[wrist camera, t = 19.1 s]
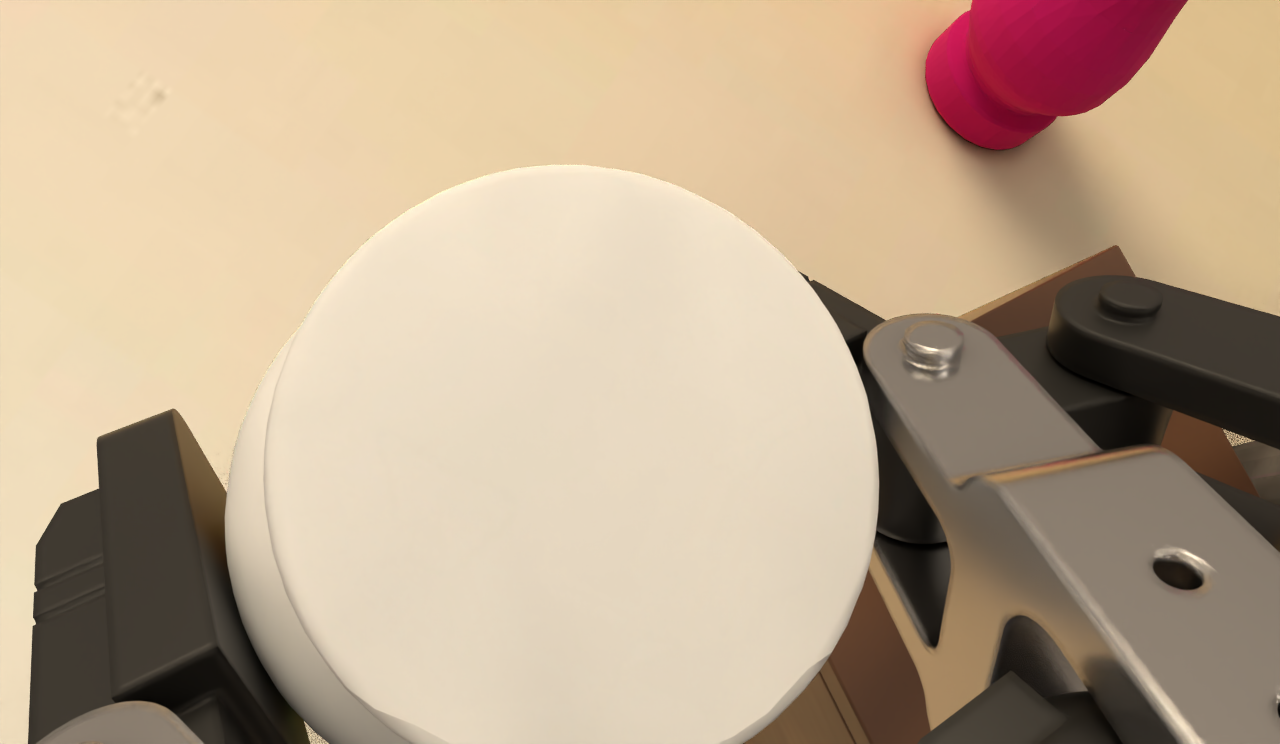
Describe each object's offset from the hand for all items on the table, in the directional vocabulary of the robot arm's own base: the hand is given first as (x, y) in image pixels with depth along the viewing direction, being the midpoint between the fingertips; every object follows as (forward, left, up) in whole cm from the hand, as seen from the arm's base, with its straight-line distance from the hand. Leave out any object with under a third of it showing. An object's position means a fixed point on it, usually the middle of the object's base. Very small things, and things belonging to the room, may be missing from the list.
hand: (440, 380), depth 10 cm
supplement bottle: (0, +2, -5) cm, 5 cm away
